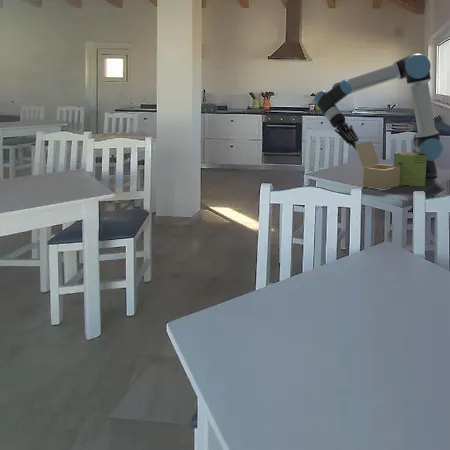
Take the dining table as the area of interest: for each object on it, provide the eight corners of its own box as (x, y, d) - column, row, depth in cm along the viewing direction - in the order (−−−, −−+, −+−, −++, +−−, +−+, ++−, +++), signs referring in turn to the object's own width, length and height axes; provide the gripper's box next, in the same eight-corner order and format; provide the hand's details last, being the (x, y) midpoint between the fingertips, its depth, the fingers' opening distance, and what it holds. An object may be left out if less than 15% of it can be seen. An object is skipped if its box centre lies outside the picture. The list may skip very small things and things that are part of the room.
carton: (378, 183, 330) (379, 164, 327) (399, 186, 321) (400, 166, 319) (362, 187, 320) (363, 167, 318) (384, 190, 312) (385, 170, 309)
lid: (379, 163, 327) (378, 164, 328) (371, 141, 328) (370, 141, 328) (363, 167, 318) (362, 167, 318) (355, 144, 318) (354, 144, 319)
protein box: (425, 186, 321) (427, 155, 317) (393, 185, 324) (395, 154, 320) (423, 182, 331) (425, 152, 327) (392, 181, 334) (393, 151, 330)
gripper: (338, 121, 338) (364, 156, 331) (323, 123, 329) (349, 159, 322) (347, 111, 333) (373, 146, 326) (332, 113, 324) (358, 149, 317)
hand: (361, 152), depth 324 cm, fingers closed
